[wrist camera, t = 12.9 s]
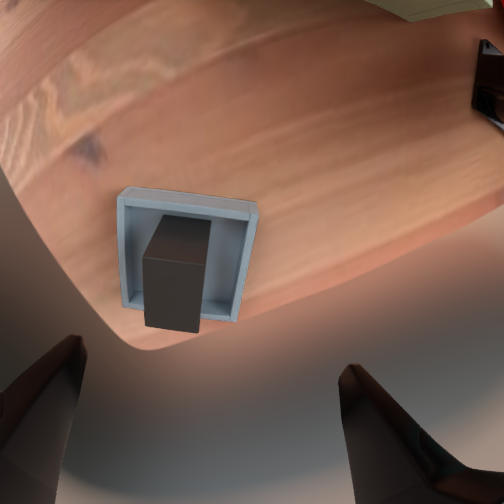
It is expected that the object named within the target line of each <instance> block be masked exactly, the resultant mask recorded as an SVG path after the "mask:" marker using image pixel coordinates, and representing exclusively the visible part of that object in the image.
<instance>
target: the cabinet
mask: <svg viewBox="0 0 504 504" xmlns="http://www.w3.org/2000/svg"><path fill="white" fill-rule="evenodd" d="M364 1H367V2H369V3H371V4H374V5H376V6H378V7H380V8H382V9H385V10H387V11H389V12H391V13H393V14H395V15H397V16H399V17H401V18H403V19H405V20H407V21H409V22H410V23H413V22H417V21H420V20H425V19H429V18H433V17H438V16H443V15H448V14H453V13H459V12H465V11H471V10H479V9H487V8H492V7H493V1H492V0H364Z"/></svg>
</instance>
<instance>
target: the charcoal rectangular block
mask: <svg viewBox="0 0 504 504" xmlns="http://www.w3.org/2000/svg"><path fill="white" fill-rule="evenodd" d="M211 223H212V221H211V220H204V219H197V218H189V217H181V216H173V215H165V214H164V215H163V216H162V218H161V220H160V222H159V224H158V226H157V228H156V230H155V232H154V234H153V236H152V238H151V240H150V242H149V244H148V246H147V248H146V250H145V252H144V254H143V256H142V279H143V302H144V318H145V326H148V327H154V328H161V329H168V330H175V331H183V332H191V333H198V332H199V325H200V315H201V305H202V296H203V287H204V278H205V270H206V262H207V254H208V246H209V238H210V231H211Z"/></svg>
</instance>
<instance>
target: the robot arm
mask: <svg viewBox="0 0 504 504" xmlns="http://www.w3.org/2000/svg"><path fill="white" fill-rule="evenodd" d="M477 104H478V106H477ZM472 107H473V109H474V110H475V111H477V112H478V113H479V114H481V115H482V116H484V117H485V118H486V119H488V120H489V121H490V122H492V123H493V124H494V125H495V126H497V127H498V128H499V129H501V130H502V131H503V132H504V55H503V54H502V53H501V52H500V51H499V50H498V49H497V48H496V47H495V46H494V45H492V44H491V43H490V42H489V41H488V40H486V39H481V40H480V48H479V58H478V67H477V75H476V81H475V88H474V94H473V99H472ZM86 361H87V349H86V346H85V343H84V340H83V337H82V336H80V335H77V334H70V335H68V336H67V337H66V338H64V339H63V340H62V341H61V342H60V343H58V344H57V345H56V346H55V347H53V348H52V349H51V350H50V351H49V352H47V353H46V354H45V355H44V356H42V357H41V358H40V359H39V360H38V361H37V362H35V363H34V364H33V365H32V366H31V367H29V369H27V370H26V371H25V372H24V373H22V374H21V375H20V376H19V377H18V378H17V379H15V380H14V381H13V382H12V383H11V384H10V385H9V386H8V387H6V388H5V389H4V390H3V392H1V393H0V504H55V499H56V491H57V485H58V480H59V475H60V469H61V465H62V460H63V456H64V451H65V447H66V443H67V438H68V435H69V431H70V427H71V423H72V419H73V416H74V413H75V409H76V406H77V402H78V399H79V395H80V390H81V385H82V380H83V375H84V370H85V365H86ZM338 385H339V396H340V408H341V419H342V425H343V430H344V435H345V441H346V447H347V452H348V458H349V464H350V470H351V476H352V482H353V489H354V496H355V503H356V504H504V472H494V471H485V470H478V469H472V468H469V467H467V466H465V465H464V464H462V463H461V462H460V461H458V460H457V459H456V458H455V457H454V456H452V455H451V454H450V453H448V452H447V451H446V450H445V449H444V448H443V447H441V446H440V445H439V444H438V443H437V442H435V440H434V439H433V438H432V437H431V436H430V435H429V434H428V433H427V432H426V431H425V430H423V428H420V425H419V424H418V423H417V422H416V421H415V420H414V419H413V418H412V417H411V416H410V415H409V414H408V413H407V412H406V411H405V410H404V409H403V408H402V407H401V406H400V405H399V404H398V403H397V402H396V401H395V400H394V399H393V398H392V397H391V396H390V395H389V394H388V393H387V392H386V391H385V390H384V389H383V387H382V386H381V385H380V384H379V383H378V382H377V381H376V380H375V379H374V378H373V377H372V376H371V375H370V374H369V373H368V372H367V371H366V370H365V369H364V368H363V367H362V366H361V365H360V364H348V365H347V366H346V368H345V369H344V371H343V372H342V374H341V376H340V377H339V381H338Z"/></svg>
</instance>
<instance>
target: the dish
mask: <svg viewBox="0 0 504 504" xmlns="http://www.w3.org/2000/svg"><path fill="white" fill-rule="evenodd" d="M164 214H165V215H173V216H181V217H189V218H197V219H204V220H211V221H212V223H211V231H210V238H209V246H208V254H207V262H206V270H205V278H204V287H203V296H202V305H201V315H200V318H202V319H210V320H219V321H230V322H236V321H237V317H238V312H239V307H240V303H241V298H242V293H243V289H244V284H245V279H246V275H247V270H248V265H249V261H250V256H251V251H252V246H253V242H254V237H255V232H256V228H257V223H258V218H259V212H258V208H257V203H256V202H252V201H246V200H239V199H232V198H225V197H218V196H211V195H203V194H195V193H187V192H179V191H170V190H161V189H152V188H143V187H133V186H127V187H126V188H125V189H124V190H123V191H122V192H121V193H120V194H119V195H118V196H117V242H118V260H119V274H120V286H121V296H122V305H123V307H125V308H131V309H137V310H143V311H144V302H143V279H142V256H143V254H144V252H145V250H146V248H147V246H148V244H149V242H150V240H151V238H152V236H153V234H154V232H155V230H156V228H157V226H158V224H159V222H160V220H161V218H162V216H163V215H164Z"/></svg>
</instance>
